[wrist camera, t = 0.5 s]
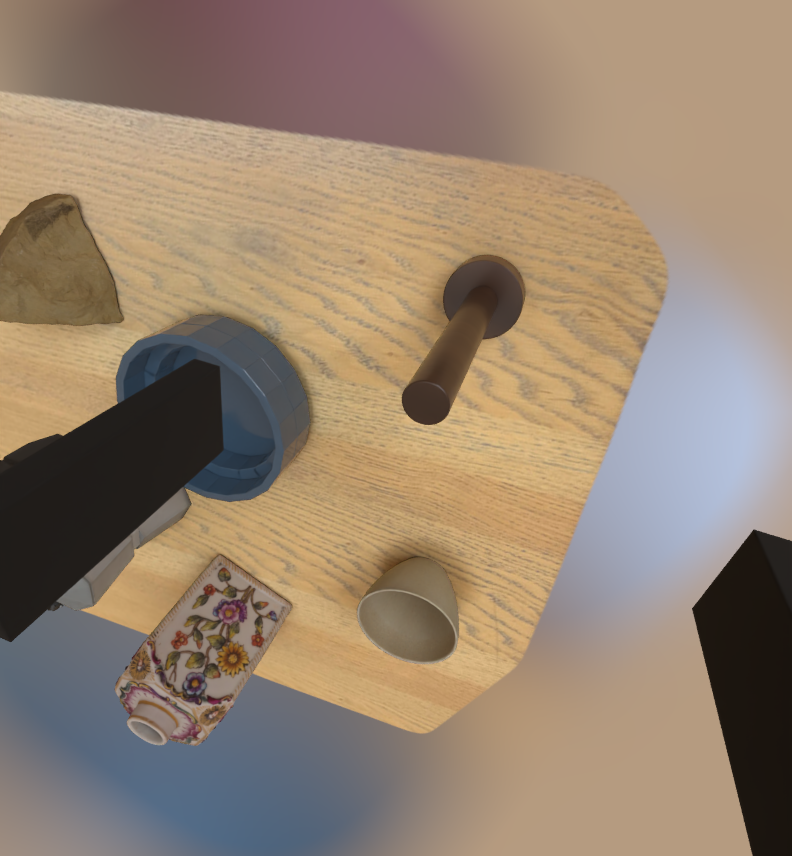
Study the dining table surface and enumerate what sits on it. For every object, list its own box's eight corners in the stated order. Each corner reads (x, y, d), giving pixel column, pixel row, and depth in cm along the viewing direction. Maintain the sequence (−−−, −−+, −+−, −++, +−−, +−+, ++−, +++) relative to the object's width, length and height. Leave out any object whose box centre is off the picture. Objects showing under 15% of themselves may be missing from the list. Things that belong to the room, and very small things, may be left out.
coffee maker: (143, 435, 55) (-14, 545, 40) (207, 484, 56) (75, 609, 41) (112, 504, 64) (-28, 616, 49) (167, 545, 65) (46, 668, 50)
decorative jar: (219, 550, 62) (107, 681, 47) (296, 603, 62) (209, 749, 48) (192, 593, 68) (87, 720, 54) (261, 641, 69) (176, 778, 54)
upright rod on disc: (463, 243, 35) (383, 322, 20) (538, 271, 34) (510, 374, 20) (438, 315, 38) (353, 428, 23) (506, 342, 37) (462, 475, 23)
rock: (2, 164, 40) (-10, 273, 45) (-28, 195, 34) (-38, 318, 39) (146, 218, 46) (123, 310, 51) (143, 253, 40) (117, 354, 45)
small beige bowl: (491, 579, 50) (479, 638, 44) (435, 619, 56) (418, 677, 50) (412, 521, 49) (390, 574, 44) (364, 568, 55) (339, 620, 49)
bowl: (162, 284, 44) (111, 303, 39) (328, 354, 43) (296, 382, 38) (161, 428, 54) (120, 458, 49) (298, 490, 52) (269, 527, 47)
